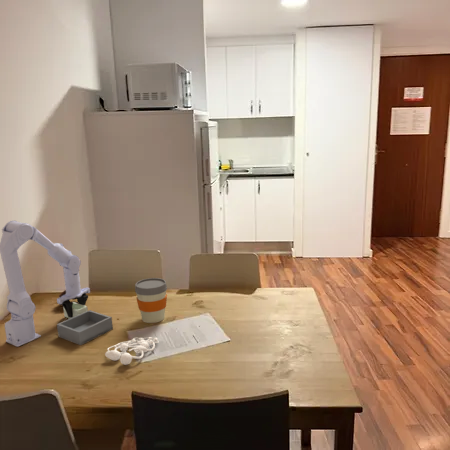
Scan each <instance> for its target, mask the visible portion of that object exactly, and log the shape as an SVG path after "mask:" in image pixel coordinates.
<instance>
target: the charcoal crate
mask: <svg viewBox="0 0 450 450" xmlns="http://www.w3.org/2000/svg"><path fill="white" fill-rule="evenodd" d="M56 326H57V335H58V338H61V339H64V340H65V341H69V342H71V343H73V344H76V345H79V346H82V345H84V344H87V343H88V342H90V341H93V340H94V339H97V338H98V337H100V336H102V335H104V334H107V333H108V332H111V331H112V330H113V329H114V328H113V327H114V326H113V317H112V316H109V315H107V314H103V313H100V312H96V311H93V310H90V309H88V311H86V312H84V313H82V314H80V315H77V316H75V317H73V318H70V319H65V320H64V321H62V322H59V323H56Z"/></svg>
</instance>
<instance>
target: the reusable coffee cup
mask: <svg viewBox="0 0 450 450" xmlns="http://www.w3.org/2000/svg"><path fill="white" fill-rule="evenodd" d="M134 286H135V287H134V291H135V294H136V304H137V307H138V310H139V311H140V316H141V319H142V320H141V321H142V322H144V323H148V324H155V323H159V322H161V321H163V320H165V316H166V314H165V313H166V312H165V311H166V307H167V300H168V299H167V297H168V295H167V290H168V287H167V281H166V280H165V279H164V278H160V277H151V278H150V277H149V278H143V279H141V280H138V281H137V282H136V283H135V285H134Z"/></svg>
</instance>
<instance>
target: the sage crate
mask: <svg viewBox="0 0 450 450" xmlns="http://www.w3.org/2000/svg"><path fill="white" fill-rule="evenodd" d="M72 302H73V306H72V312H73V317H75V316H77V315H80V314H82V313H84V312H86V311H89V309H88V306H87V305H86V304H85V305H81V304H78V302H75V301H72ZM62 308H63V315H64V318H65V317H66V318H65V319H67V318H68V319H70V317H68V315H67V312H66V310H65V308H64V307H63V306H62ZM73 317H72V318H73ZM68 319H67V320H68Z"/></svg>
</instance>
